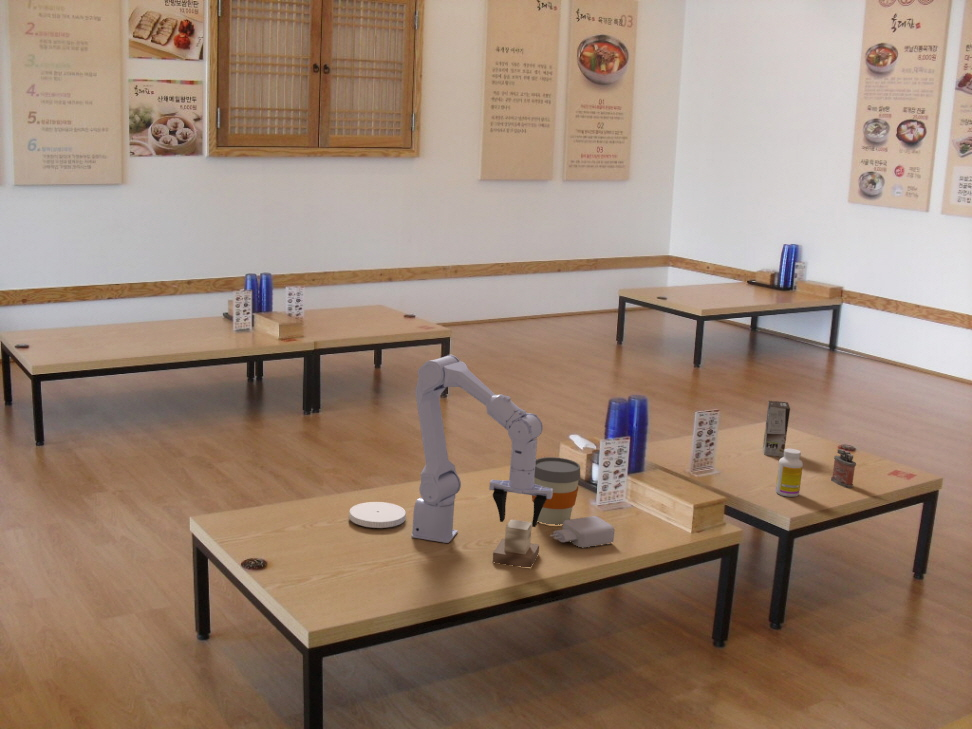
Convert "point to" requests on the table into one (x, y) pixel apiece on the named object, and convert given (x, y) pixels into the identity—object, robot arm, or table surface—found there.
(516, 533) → the maple block
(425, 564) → the table surface
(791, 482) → the supplement bottle
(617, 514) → the table surface
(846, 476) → the lighter
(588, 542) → the charger
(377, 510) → the plastic lid
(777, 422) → the coffee box
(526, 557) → the walnut slab
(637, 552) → the table surface
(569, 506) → the reusable coffee cup
